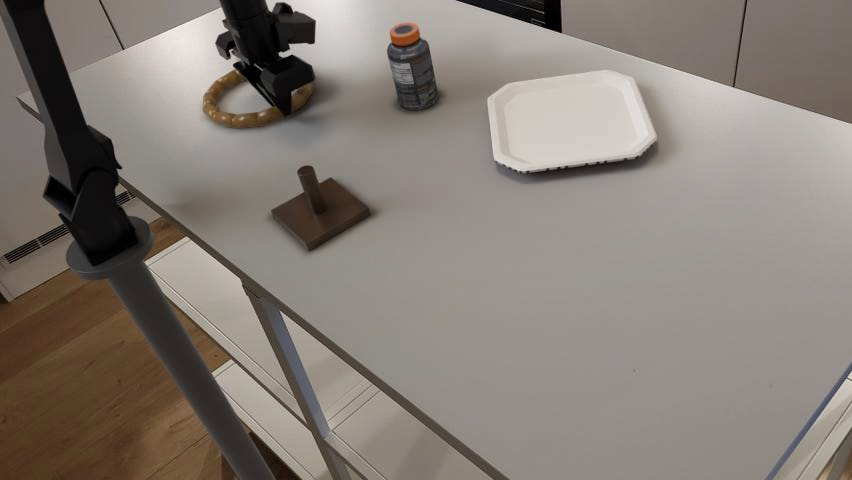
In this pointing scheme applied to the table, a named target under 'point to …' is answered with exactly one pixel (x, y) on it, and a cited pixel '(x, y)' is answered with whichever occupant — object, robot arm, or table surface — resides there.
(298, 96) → the ring
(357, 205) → the wooden peg stand
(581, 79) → the plate
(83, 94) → the table surface
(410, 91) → the pill bottle
